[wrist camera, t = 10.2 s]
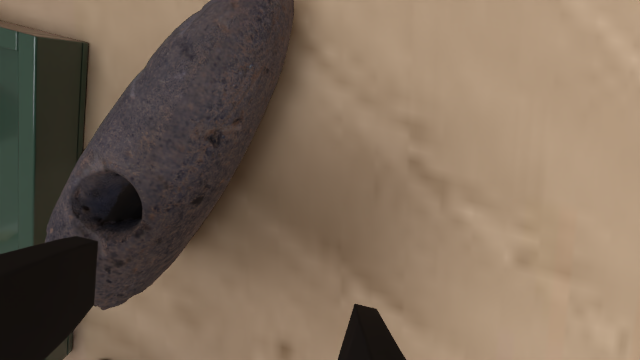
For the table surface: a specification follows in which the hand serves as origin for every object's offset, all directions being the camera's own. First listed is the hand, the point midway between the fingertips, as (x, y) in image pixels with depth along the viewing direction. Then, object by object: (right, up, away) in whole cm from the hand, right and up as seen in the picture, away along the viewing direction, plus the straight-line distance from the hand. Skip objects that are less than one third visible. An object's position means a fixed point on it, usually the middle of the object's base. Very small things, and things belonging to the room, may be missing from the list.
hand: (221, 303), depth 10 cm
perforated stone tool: (-3, +6, +9) cm, 11 cm away
